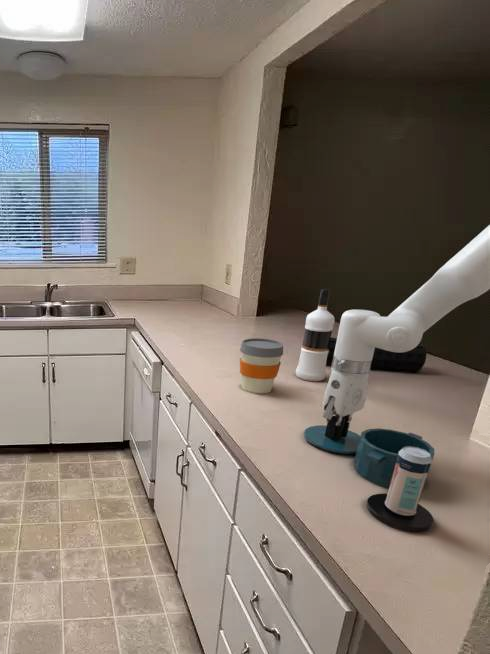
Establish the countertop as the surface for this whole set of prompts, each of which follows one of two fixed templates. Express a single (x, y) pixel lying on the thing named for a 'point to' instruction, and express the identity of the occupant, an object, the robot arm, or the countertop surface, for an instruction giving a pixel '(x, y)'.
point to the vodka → (316, 342)
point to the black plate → (407, 523)
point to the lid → (341, 446)
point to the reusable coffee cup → (259, 364)
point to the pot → (384, 453)
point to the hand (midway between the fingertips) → (335, 436)
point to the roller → (390, 358)
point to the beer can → (408, 480)
